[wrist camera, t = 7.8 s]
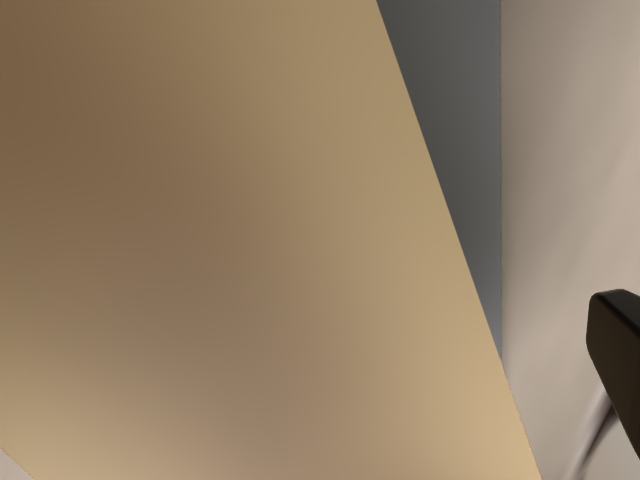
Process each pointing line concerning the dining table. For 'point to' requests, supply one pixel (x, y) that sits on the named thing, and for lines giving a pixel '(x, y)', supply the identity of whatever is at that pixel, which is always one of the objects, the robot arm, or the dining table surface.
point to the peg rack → (459, 120)
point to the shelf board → (232, 253)
